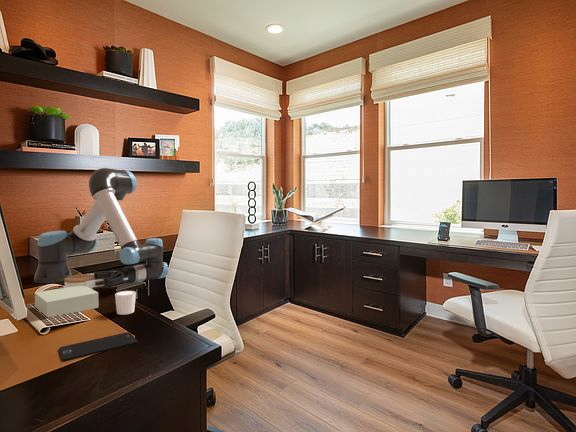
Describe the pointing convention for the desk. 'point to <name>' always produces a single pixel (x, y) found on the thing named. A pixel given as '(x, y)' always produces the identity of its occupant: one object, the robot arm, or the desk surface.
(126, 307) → the white tapered cup
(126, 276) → the robot arm
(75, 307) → the sage box
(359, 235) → the desk surface
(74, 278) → the lidded jar
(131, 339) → the cell phone
